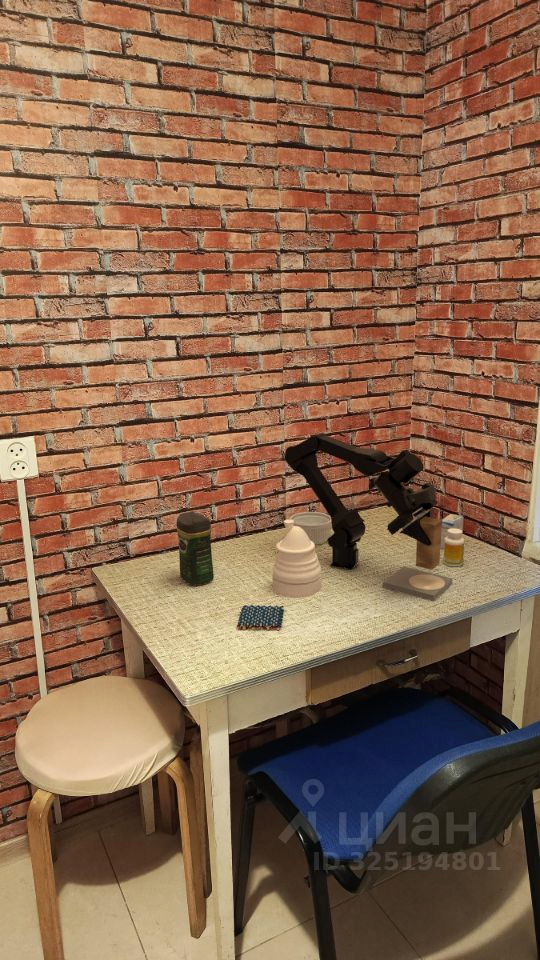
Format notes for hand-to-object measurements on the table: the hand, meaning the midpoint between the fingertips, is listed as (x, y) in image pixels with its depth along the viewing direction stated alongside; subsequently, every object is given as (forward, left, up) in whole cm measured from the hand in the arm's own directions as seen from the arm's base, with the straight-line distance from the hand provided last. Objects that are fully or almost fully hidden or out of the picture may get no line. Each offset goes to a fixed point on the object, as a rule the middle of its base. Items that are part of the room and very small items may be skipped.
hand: (434, 542), depth 162 cm
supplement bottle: (+2, +19, -13) cm, 23 cm away
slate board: (-4, +1, -13) cm, 13 cm away
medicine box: (-1, +32, -13) cm, 34 cm away
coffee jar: (-60, -17, -13) cm, 64 cm away
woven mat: (-34, -31, -14) cm, 48 cm away
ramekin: (-42, +22, -13) cm, 49 cm away
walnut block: (-1, 0, -7) cm, 7 cm away
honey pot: (-33, -11, -13) cm, 37 cm away
